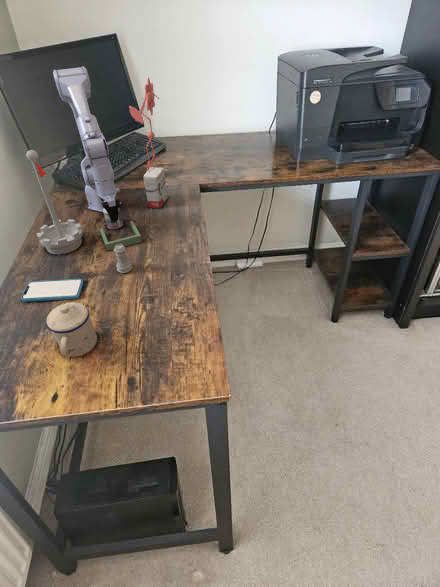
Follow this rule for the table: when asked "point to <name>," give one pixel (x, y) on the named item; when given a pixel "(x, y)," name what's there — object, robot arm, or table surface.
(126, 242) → the holder
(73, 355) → the teacup with lid
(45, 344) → the table surface
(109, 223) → the pill bottle
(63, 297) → the smartphone
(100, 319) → the table surface
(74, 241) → the flag stand
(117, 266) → the rook chess piece
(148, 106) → the figurine
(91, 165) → the robot arm
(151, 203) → the ink box
